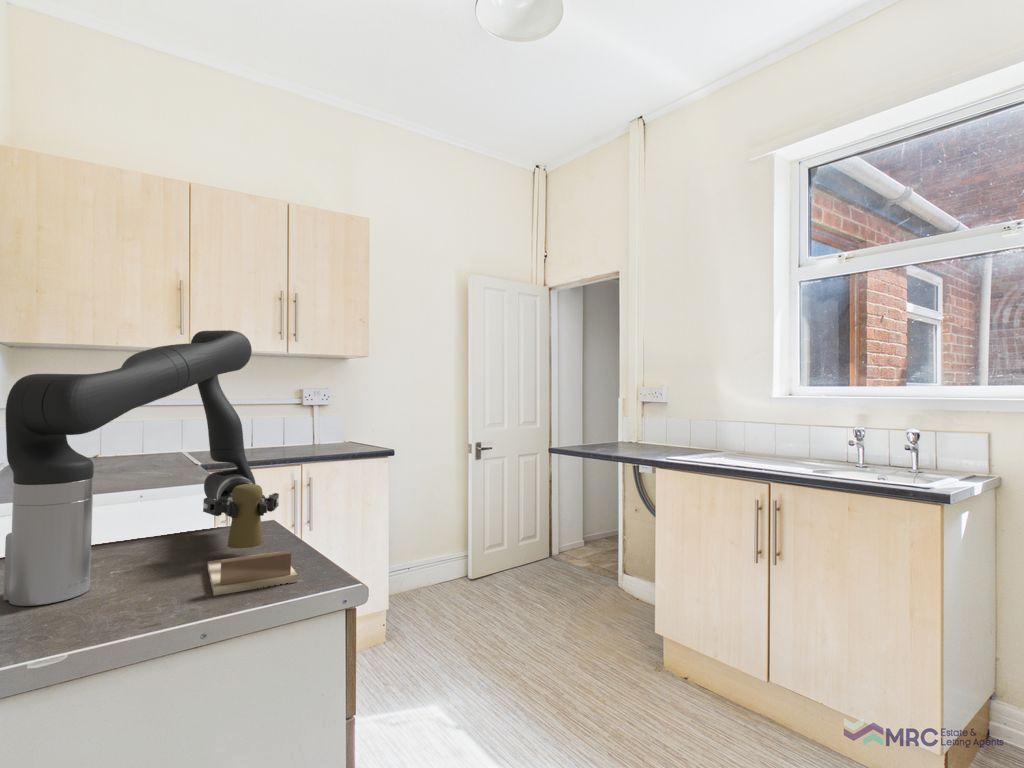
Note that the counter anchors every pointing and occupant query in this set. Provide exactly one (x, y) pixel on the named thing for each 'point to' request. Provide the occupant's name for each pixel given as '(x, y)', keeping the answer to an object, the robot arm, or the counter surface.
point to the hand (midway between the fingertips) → (248, 511)
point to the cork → (246, 517)
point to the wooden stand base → (251, 572)
